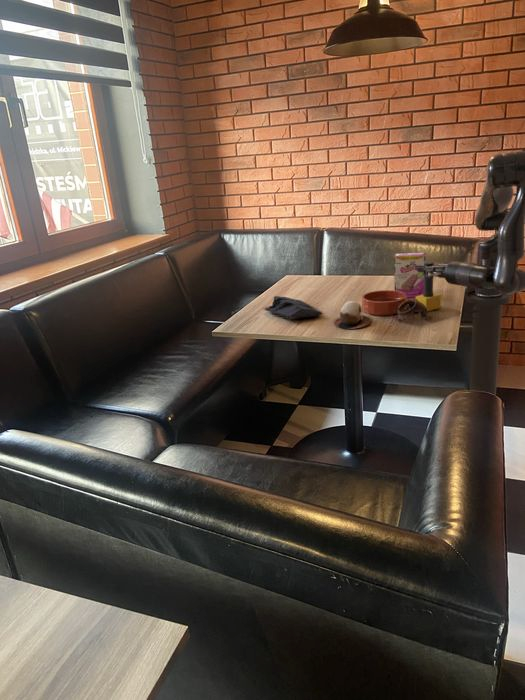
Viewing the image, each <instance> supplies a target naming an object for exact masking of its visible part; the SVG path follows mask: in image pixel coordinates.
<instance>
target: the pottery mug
mask: <svg viewBox="0 0 525 700" xmlns="http://www.w3.org/2000/svg"><path fill="white" fill-rule="evenodd" d="M405 306H407V307H408V308H409V309H406V310H404V311H402V312H400V311H401V310H402V309H403V308H404V307H405ZM398 309H399V310H398V311H397V312H398V313H397V319H398V321H399V322H400V321H402V320H408V319H410V318H413V319H416V318H415V315H420V317H421V318H426V321H427V322H430V315H429V311H427V309H426V307H425V306H424V305H423V304H422V303H421V302H418V300H417V299H415V298H408V299H407V300H406V301H404V302H403V303H402V304H401V305H400V306H399V307H398Z"/></svg>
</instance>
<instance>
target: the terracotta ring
mask: <svg viewBox="0 0 525 700" xmlns="http://www.w3.org/2000/svg"><path fill="white" fill-rule="evenodd" d="M406 300H408V298H407V294H405V293H404V292H400V291H395V289H384V290H383V289H382V290H373V291H369V292H366V293H364V294H362V295H361V309H362V312H365V313H367V314H369V315H374V316H391V315H392V316H393V315H398V312H397V311H398V310H399V309H398V307H399V306H400V305H401V304H402V303H403V302H404V301H406ZM407 310H408V305H407V306H405V307H404V308H403V309H402V310H401V311H400V312H404V311H407Z"/></svg>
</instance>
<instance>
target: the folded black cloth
mask: <svg viewBox="0 0 525 700" xmlns="http://www.w3.org/2000/svg"><path fill="white" fill-rule="evenodd" d="M271 304H272V305H269V306H266V307H265V308H264V310H266V311H267V312H270V313H272V314H274V315H277V316H280V317H282V318H286V319H287V320H298V319H304V318H305V319H306V318H312V317H318V316H320V315H322V314H323V313H322V312H321V311H319V310H317V309H315V308H314V307H312V306H311V305H310V304H308V303H306V302H305V301H302V299H301V300H300V299H295V298H291V297H286V296H278V295H275V296H273V301H272V303H271Z"/></svg>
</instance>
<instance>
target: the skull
mask: <svg viewBox="0 0 525 700" xmlns="http://www.w3.org/2000/svg"><path fill="white" fill-rule="evenodd" d="M362 313H363V310H362V305H361V304H360V303H359V302H357V301H354V300H348V301H346V302H345V303H344V304H343V306H342V307H341V309H340V311H339V318H337V319H336V320H335V321H334V325H335V326H336V327H338V328H340V329H348V330H352V329H359V328H363V327H366V326H368V325H369V324H371V322H372V319H371V318H370V316H367V315H364V314H363V315H362Z"/></svg>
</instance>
